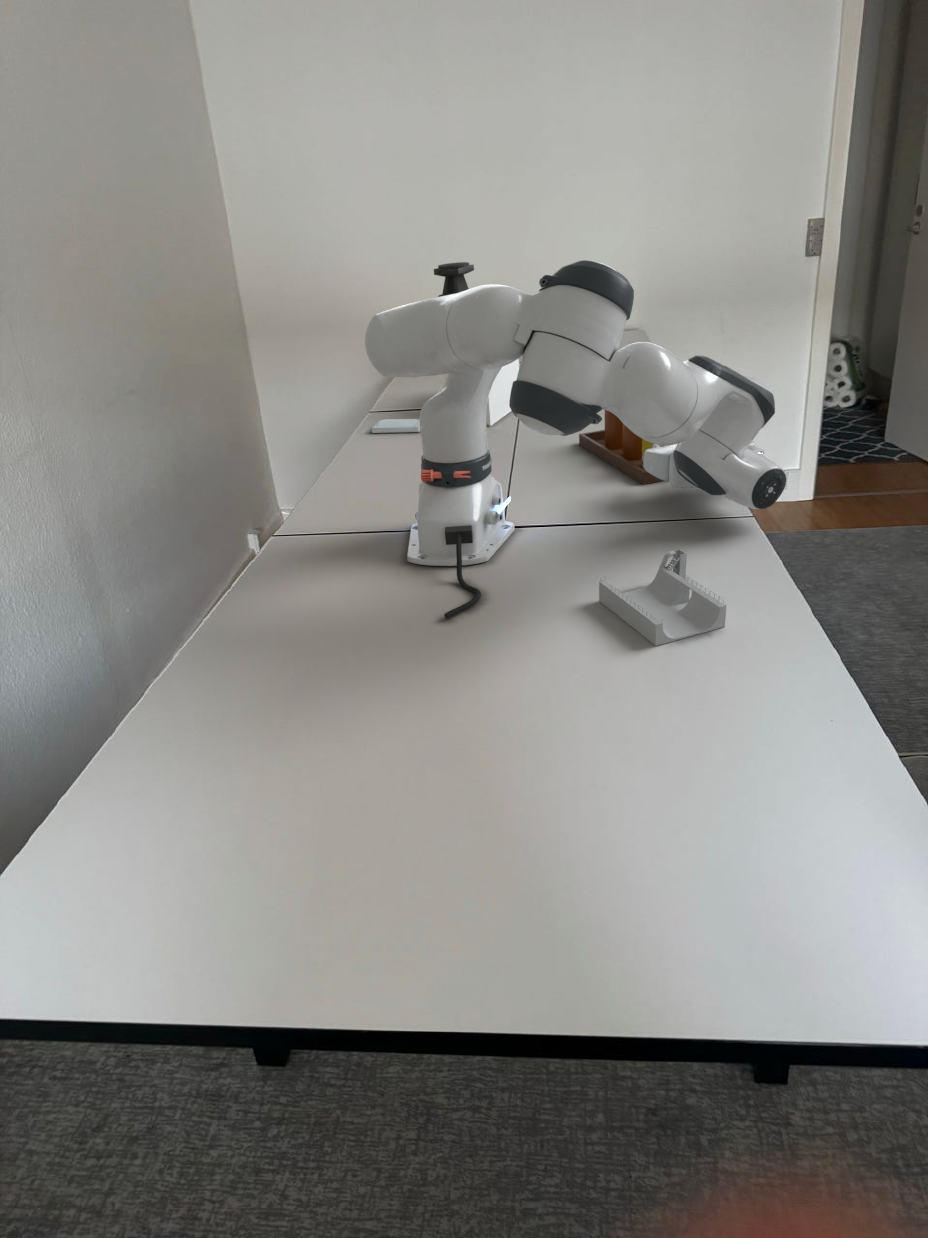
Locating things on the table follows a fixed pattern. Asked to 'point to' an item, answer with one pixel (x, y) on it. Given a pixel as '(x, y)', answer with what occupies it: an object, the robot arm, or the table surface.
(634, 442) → the amber bottle middle
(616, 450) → the tray
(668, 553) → the grey plastic cradle
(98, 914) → the table surface
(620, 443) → the amber bottle far
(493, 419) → the box
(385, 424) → the hard drive
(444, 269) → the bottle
